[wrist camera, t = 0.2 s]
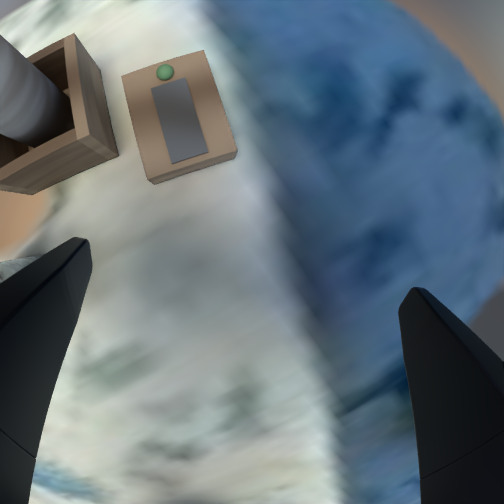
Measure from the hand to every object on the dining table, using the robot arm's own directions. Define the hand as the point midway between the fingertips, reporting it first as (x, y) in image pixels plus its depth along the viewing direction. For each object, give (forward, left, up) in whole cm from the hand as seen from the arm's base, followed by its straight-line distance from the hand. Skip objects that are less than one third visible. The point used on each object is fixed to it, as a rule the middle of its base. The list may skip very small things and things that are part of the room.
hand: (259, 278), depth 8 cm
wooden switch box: (+10, +1, -15) cm, 18 cm away
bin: (+13, +10, -15) cm, 22 cm away
